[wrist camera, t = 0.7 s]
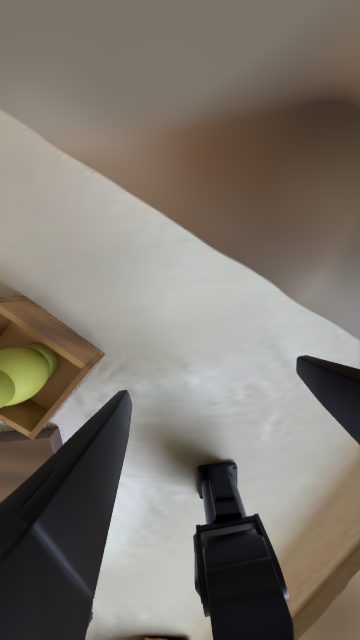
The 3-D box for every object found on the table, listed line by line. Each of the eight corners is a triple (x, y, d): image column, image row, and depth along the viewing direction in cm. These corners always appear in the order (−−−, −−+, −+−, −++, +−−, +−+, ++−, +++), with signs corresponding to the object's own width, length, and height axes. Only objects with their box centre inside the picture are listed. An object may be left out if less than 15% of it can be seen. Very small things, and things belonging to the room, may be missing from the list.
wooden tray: (105, 354, 23) (91, 368, 19) (55, 415, 25) (32, 440, 21) (24, 295, 21) (-11, 297, 17) (-25, 365, 23) (-67, 382, 19)
